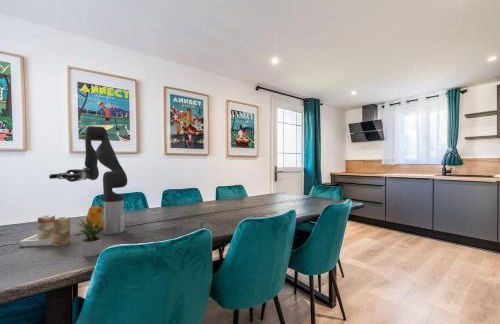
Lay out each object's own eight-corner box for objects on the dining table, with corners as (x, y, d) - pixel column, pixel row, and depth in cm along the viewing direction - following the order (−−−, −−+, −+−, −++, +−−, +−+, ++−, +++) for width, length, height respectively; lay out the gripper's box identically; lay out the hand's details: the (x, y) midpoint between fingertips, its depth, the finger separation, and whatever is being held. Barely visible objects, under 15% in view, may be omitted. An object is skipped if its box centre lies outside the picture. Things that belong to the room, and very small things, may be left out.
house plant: (56, 261, 89) (56, 218, 89) (84, 248, 103) (84, 211, 103) (92, 262, 88) (92, 219, 88) (115, 248, 102) (115, 211, 102)
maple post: (54, 237, 114) (55, 215, 114) (48, 240, 109) (48, 217, 109) (44, 238, 113) (44, 215, 113) (37, 241, 109) (37, 217, 109)
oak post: (70, 242, 110) (70, 216, 110) (64, 245, 105) (64, 219, 105) (59, 242, 109) (59, 217, 109) (53, 246, 104) (53, 219, 104)
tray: (69, 236, 119) (69, 231, 119) (52, 245, 106) (52, 239, 106) (40, 237, 117) (40, 232, 117) (19, 246, 104) (19, 241, 104)
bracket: (95, 229, 131) (95, 208, 131) (84, 228, 132) (84, 207, 132) (109, 224, 142) (110, 204, 142) (99, 223, 143) (99, 204, 143)
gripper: (63, 169, 141) (44, 169, 125) (88, 169, 144) (73, 169, 128) (62, 181, 141) (44, 183, 125) (88, 181, 144) (73, 183, 128)
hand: (59, 176), depth 127 cm, fingers open, 8 cm apart
